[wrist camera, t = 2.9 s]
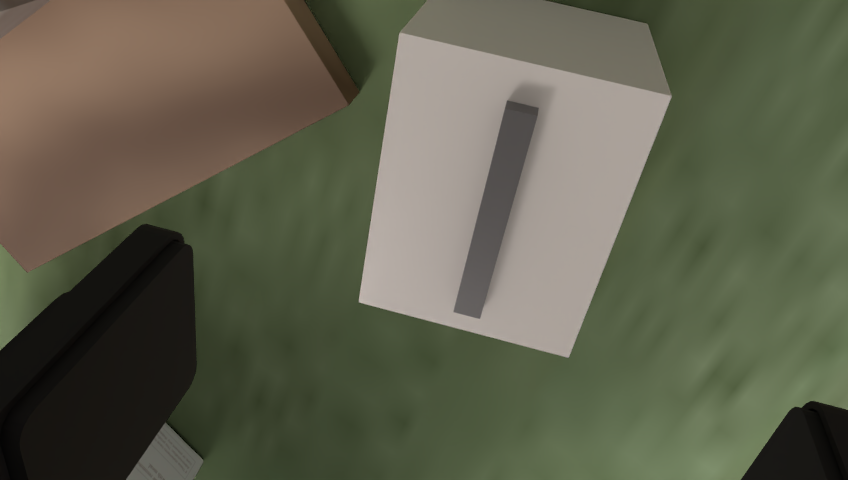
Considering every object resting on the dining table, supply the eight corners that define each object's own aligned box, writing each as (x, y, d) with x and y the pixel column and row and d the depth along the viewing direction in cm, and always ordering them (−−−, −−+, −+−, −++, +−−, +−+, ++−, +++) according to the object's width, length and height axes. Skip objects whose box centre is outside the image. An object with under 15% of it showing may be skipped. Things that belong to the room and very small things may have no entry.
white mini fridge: (647, 23, 19) (674, 104, 13) (570, 240, 23) (568, 370, 18) (446, -23, 19) (394, 38, 14) (406, 199, 23) (353, 313, 18)
